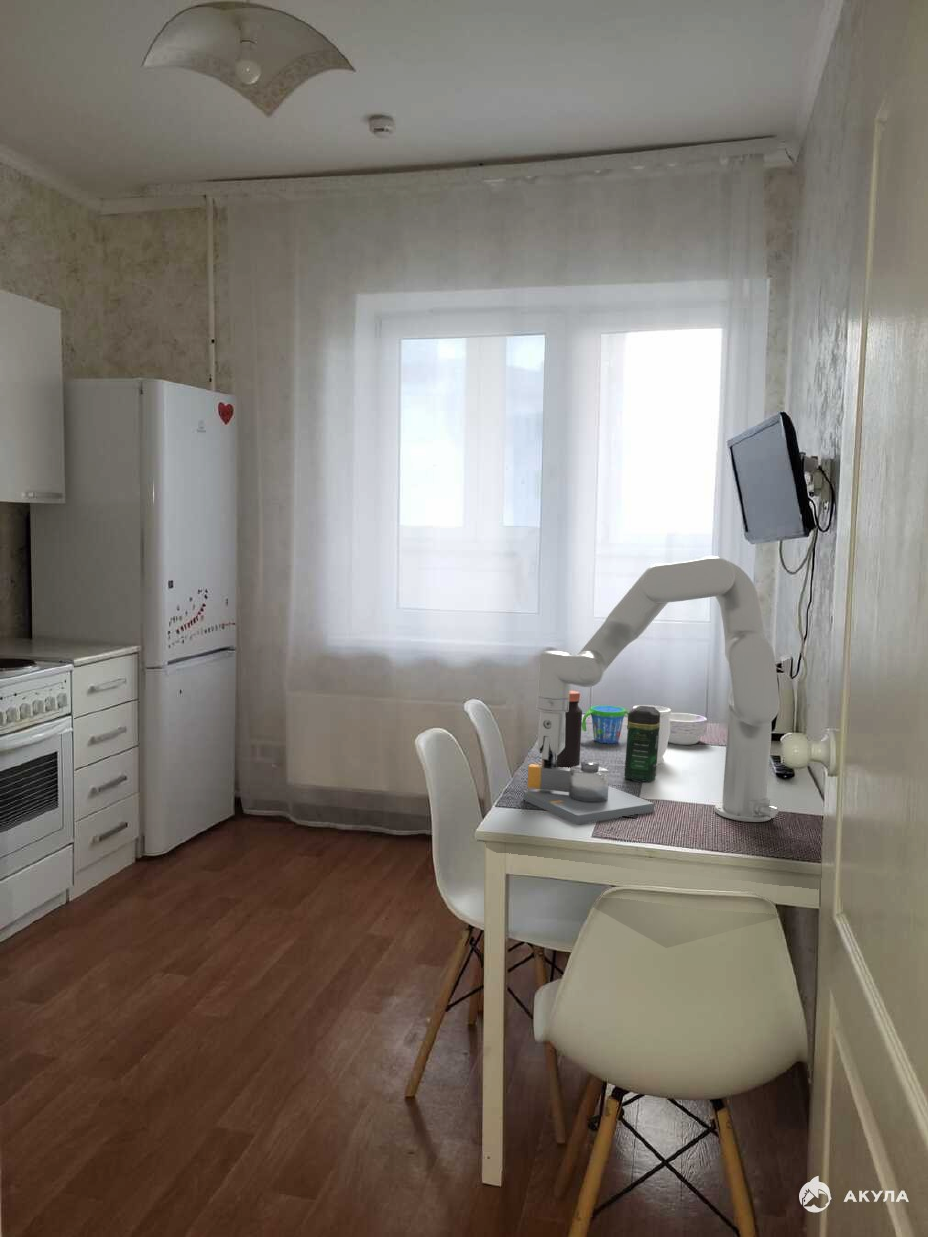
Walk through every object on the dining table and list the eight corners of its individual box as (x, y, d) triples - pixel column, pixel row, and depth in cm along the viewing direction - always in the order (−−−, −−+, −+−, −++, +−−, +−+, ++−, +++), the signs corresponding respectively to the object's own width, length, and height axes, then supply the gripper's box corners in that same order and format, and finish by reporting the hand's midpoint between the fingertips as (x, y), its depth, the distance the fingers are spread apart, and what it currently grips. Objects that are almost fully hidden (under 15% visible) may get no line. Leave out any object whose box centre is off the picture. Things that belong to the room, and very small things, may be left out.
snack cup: (586, 745, 277) (588, 711, 276) (576, 737, 287) (578, 704, 286) (636, 745, 279) (638, 712, 278) (625, 737, 290) (627, 705, 289)
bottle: (553, 761, 255) (556, 689, 253) (578, 763, 255) (582, 690, 253) (554, 768, 248) (558, 693, 246) (580, 769, 248) (584, 694, 246)
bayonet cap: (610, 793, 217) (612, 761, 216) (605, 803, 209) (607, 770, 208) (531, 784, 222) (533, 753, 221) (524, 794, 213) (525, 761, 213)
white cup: (652, 767, 253) (655, 713, 252) (622, 759, 261) (625, 706, 259) (675, 762, 260) (679, 709, 259) (645, 755, 268) (648, 703, 266)
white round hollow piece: (651, 735, 295) (653, 710, 294) (700, 737, 295) (701, 712, 294) (659, 746, 280) (661, 720, 279) (710, 748, 279) (712, 722, 279)
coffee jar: (653, 784, 236) (657, 711, 234) (621, 780, 238) (626, 708, 236) (658, 775, 245) (663, 705, 243) (628, 772, 247) (632, 702, 246)
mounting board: (653, 812, 212) (654, 803, 211) (577, 824, 200) (578, 815, 200) (596, 789, 228) (597, 781, 228) (523, 800, 217) (523, 791, 217)
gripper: (562, 711, 210) (557, 791, 212) (574, 700, 225) (569, 775, 226) (529, 707, 212) (525, 786, 214) (543, 697, 227) (539, 771, 228)
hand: (548, 780), depth 220 cm, fingers closed
